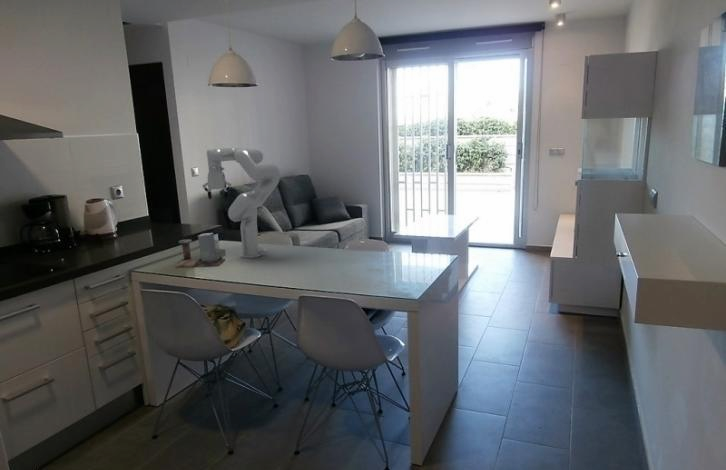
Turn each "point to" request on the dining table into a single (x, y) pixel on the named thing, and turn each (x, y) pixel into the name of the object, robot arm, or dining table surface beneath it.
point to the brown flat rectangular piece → (200, 263)
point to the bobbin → (186, 249)
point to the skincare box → (207, 247)
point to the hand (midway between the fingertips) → (218, 198)
